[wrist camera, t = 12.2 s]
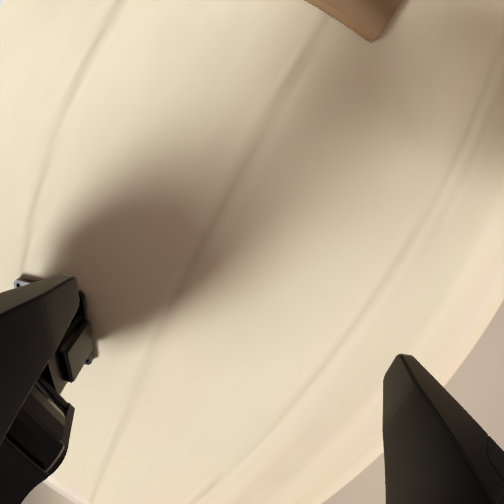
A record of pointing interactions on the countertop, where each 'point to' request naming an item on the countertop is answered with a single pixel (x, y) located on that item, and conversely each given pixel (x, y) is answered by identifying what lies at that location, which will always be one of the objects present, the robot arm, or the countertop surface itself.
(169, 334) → the countertop surface
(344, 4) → the pin board
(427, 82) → the countertop surface
